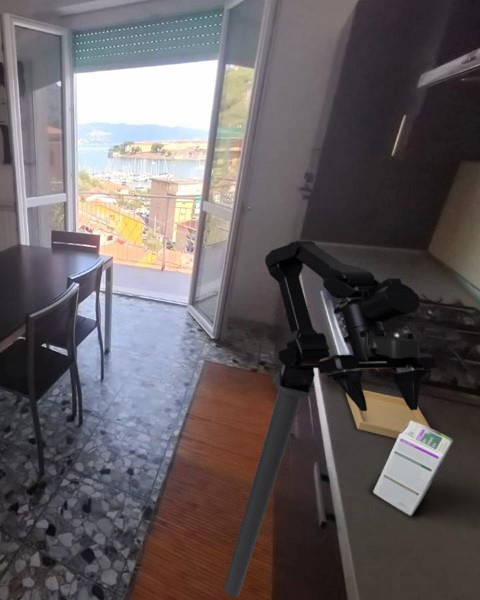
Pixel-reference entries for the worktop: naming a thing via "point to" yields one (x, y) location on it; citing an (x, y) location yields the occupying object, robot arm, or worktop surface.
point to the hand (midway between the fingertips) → (389, 410)
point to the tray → (385, 414)
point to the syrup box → (412, 466)
